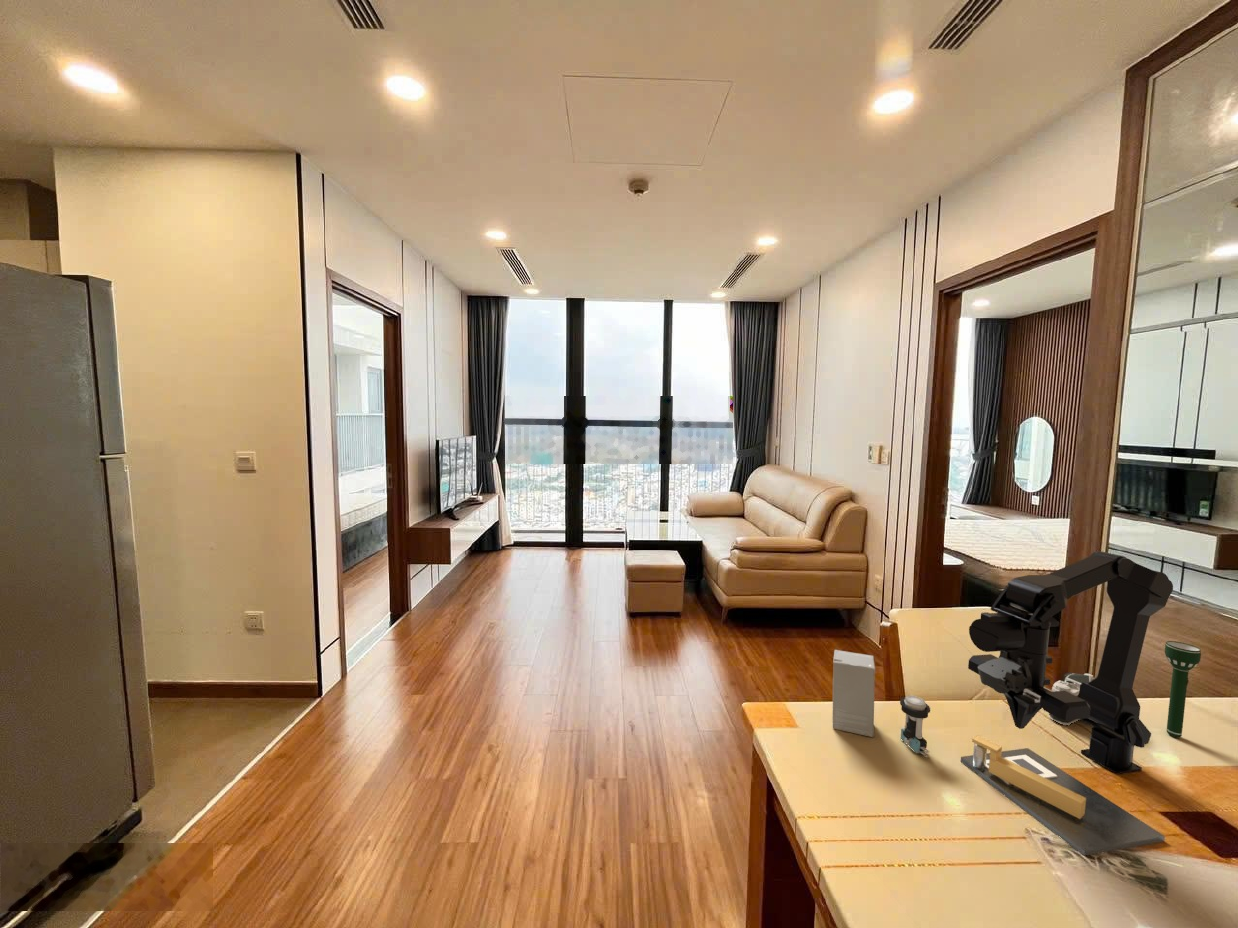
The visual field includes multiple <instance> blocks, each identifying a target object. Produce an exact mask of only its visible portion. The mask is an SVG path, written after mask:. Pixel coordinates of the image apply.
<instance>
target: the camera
mask: <svg viewBox="0 0 1238 928" xmlns="http://www.w3.org/2000/svg"><path fill="white" fill-rule="evenodd" d="M1095 678H1096V677H1094V675H1093V674H1090V673H1088V672H1087V673H1086V672H1085V673H1084V674H1081V673H1075V672H1074V673H1073V672H1070V671H1069V672H1066V673H1063V675H1062V680H1057V681H1055V682H1054V683H1053V685H1052V687H1051V690H1052V691H1053V692H1055V691H1067V692H1069V693H1071V694H1073V695H1075V696H1077V697H1078V694H1079V690H1080V685H1081V684H1082V683H1083V682H1085V683H1089V682H1090V681H1092V680H1093V679H1095ZM1048 714H1049V719H1050V718H1051V719H1052V720H1054V721H1056V722H1058V723H1060V724H1063V725H1062V726H1066V725H1068V726H1070V724H1071V723H1073V724H1075V723H1076V721H1077V722H1079V721H1081V719H1074V720H1062V719H1059V718H1057V717H1055V716H1054V715H1052V714H1050V713H1048ZM1051 719H1050V720H1051ZM1052 720H1051V721H1052ZM1078 720H1079V721H1078ZM1054 721H1053V722H1054ZM1056 722H1055V723H1056ZM1074 722H1075V723H1074ZM1058 723H1057V724H1058ZM1060 724H1059V725H1060ZM1071 725H1072V724H1071Z"/></svg>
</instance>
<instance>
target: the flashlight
mask: <svg viewBox="0 0 1238 928" xmlns="http://www.w3.org/2000/svg"><path fill="white" fill-rule="evenodd" d="M1164 654H1165V657H1166V659H1167V661H1168V663H1169V664H1171V665H1170V666H1172V673H1171V683H1170V695H1169V703H1168V713H1167V722H1166V733H1167V735H1169V736H1171V737H1173V738H1177V737H1179V738H1182V736H1183V735H1182V734H1183V727H1184V726H1183V725H1184V719H1185V718H1184V717H1185V716H1184V715H1185V707H1186V697H1187V691H1188V689H1187V688H1188V684H1189V682H1190V681H1189V671H1191V670H1192V669H1194V668H1196V667H1197V666H1198V664H1200V662H1201V658H1202V650H1201V648H1199V647H1198V646H1195V645H1193V644H1189V643H1185V642H1181V641H1176V640H1175V641H1173V640H1168V641H1166V642H1165V645H1164Z"/></svg>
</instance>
